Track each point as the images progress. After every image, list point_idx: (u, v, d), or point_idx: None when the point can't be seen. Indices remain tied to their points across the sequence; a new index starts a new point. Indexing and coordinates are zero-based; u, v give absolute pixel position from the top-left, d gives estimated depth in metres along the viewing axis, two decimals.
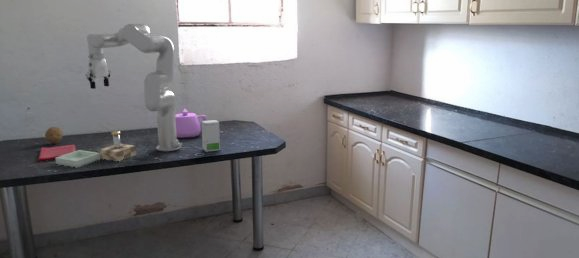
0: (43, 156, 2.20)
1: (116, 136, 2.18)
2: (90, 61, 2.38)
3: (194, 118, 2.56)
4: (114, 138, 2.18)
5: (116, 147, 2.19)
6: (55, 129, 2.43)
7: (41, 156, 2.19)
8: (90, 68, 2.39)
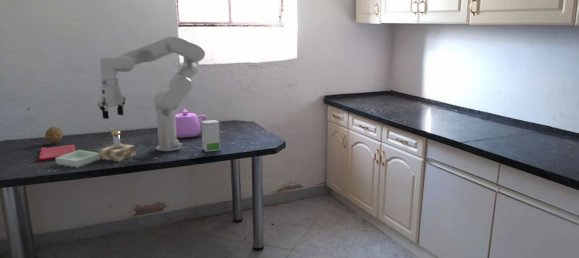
0: (43, 156, 2.20)
1: (116, 136, 2.18)
2: (103, 88, 2.09)
3: (194, 118, 2.56)
4: (114, 138, 2.18)
5: (116, 147, 2.19)
6: (55, 129, 2.43)
7: (41, 156, 2.19)
8: (103, 96, 2.10)
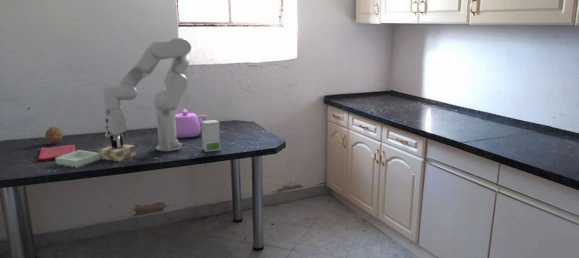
0: (43, 156, 2.20)
1: (116, 136, 2.18)
2: (107, 117, 2.13)
3: (194, 118, 2.56)
4: None
5: None
6: (55, 129, 2.43)
7: (41, 156, 2.19)
8: (107, 124, 2.13)
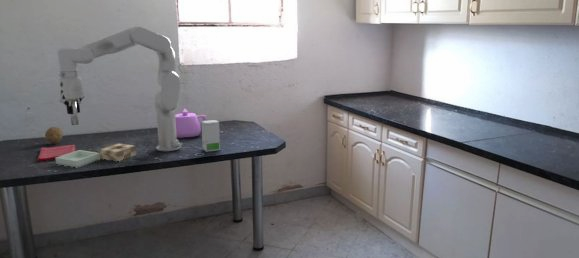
0: (42, 156, 2.20)
1: (72, 102, 2.06)
2: (61, 80, 2.01)
3: (194, 118, 2.56)
4: None
5: None
6: (55, 129, 2.43)
7: (40, 156, 2.19)
8: (61, 88, 2.01)
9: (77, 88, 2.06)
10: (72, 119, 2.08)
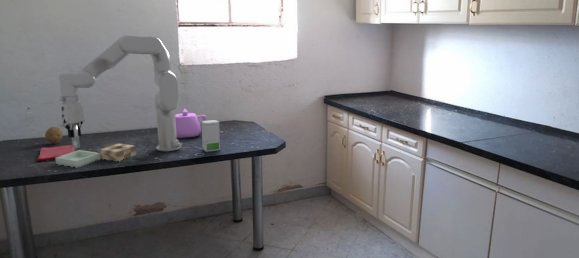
0: (42, 156, 2.20)
1: (73, 125, 2.08)
2: (62, 105, 2.03)
3: (194, 118, 2.56)
4: None
5: None
6: (55, 129, 2.43)
7: (40, 156, 2.19)
8: (62, 113, 2.04)
9: (78, 112, 2.08)
10: (73, 143, 2.10)
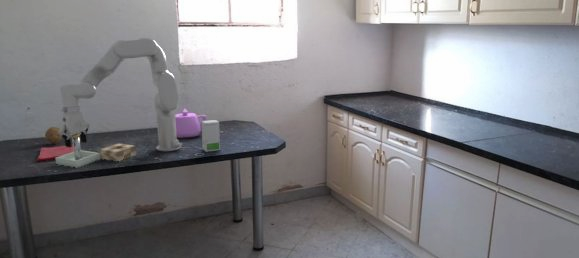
0: (42, 156, 2.20)
1: (75, 139, 2.10)
2: (64, 115, 2.04)
3: (194, 118, 2.56)
4: (73, 141, 2.10)
5: (75, 150, 2.11)
6: (55, 129, 2.43)
7: (40, 156, 2.19)
8: (64, 123, 2.05)
9: (79, 122, 2.09)
10: (75, 156, 2.12)
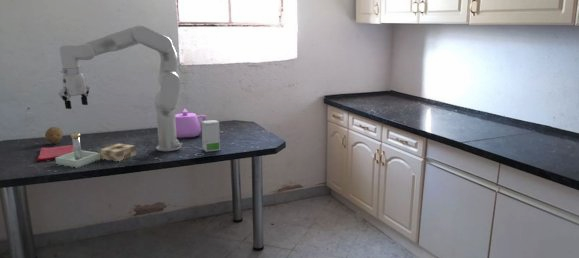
0: (42, 156, 2.20)
1: (75, 139, 2.10)
2: (64, 77, 2.03)
3: (194, 118, 2.56)
4: (73, 141, 2.10)
5: (76, 150, 2.11)
6: (55, 129, 2.43)
7: (40, 156, 2.19)
8: (64, 85, 2.04)
9: (80, 84, 2.08)
10: (76, 156, 2.12)
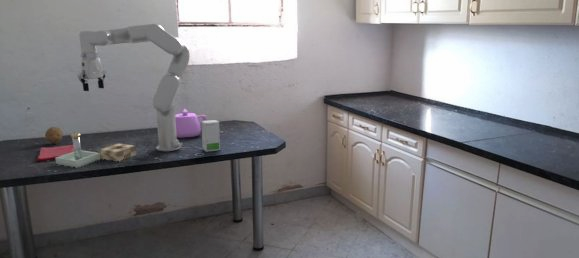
0: (42, 156, 2.20)
1: (75, 138, 2.10)
2: (83, 61, 2.16)
3: (194, 118, 2.56)
4: (73, 141, 2.10)
5: (76, 150, 2.11)
6: (55, 129, 2.43)
7: (40, 156, 2.19)
8: (83, 68, 2.17)
9: (97, 68, 2.21)
10: (76, 156, 2.12)
